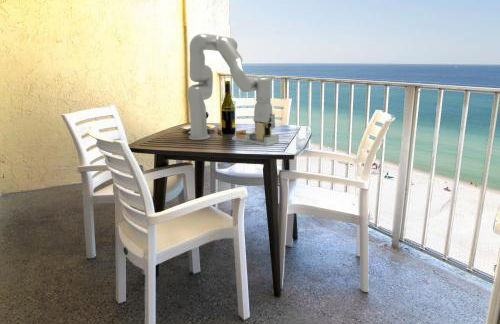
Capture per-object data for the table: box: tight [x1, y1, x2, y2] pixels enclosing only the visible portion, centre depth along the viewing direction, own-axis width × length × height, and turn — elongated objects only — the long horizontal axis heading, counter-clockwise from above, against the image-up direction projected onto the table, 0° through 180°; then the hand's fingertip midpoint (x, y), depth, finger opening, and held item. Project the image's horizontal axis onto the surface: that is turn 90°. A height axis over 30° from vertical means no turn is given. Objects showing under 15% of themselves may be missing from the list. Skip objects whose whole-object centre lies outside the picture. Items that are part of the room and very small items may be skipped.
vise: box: [231, 134, 280, 147], centre depth 213 cm, size 27×10×4 cm, turn 46°
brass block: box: [256, 122, 272, 140], centre depth 207 cm, size 5×7×9 cm
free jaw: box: [235, 129, 256, 140], centre depth 216 cm, size 13×10×3 cm
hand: (263, 133), depth 207 cm, fingers closed on brass block, 4 cm apart
